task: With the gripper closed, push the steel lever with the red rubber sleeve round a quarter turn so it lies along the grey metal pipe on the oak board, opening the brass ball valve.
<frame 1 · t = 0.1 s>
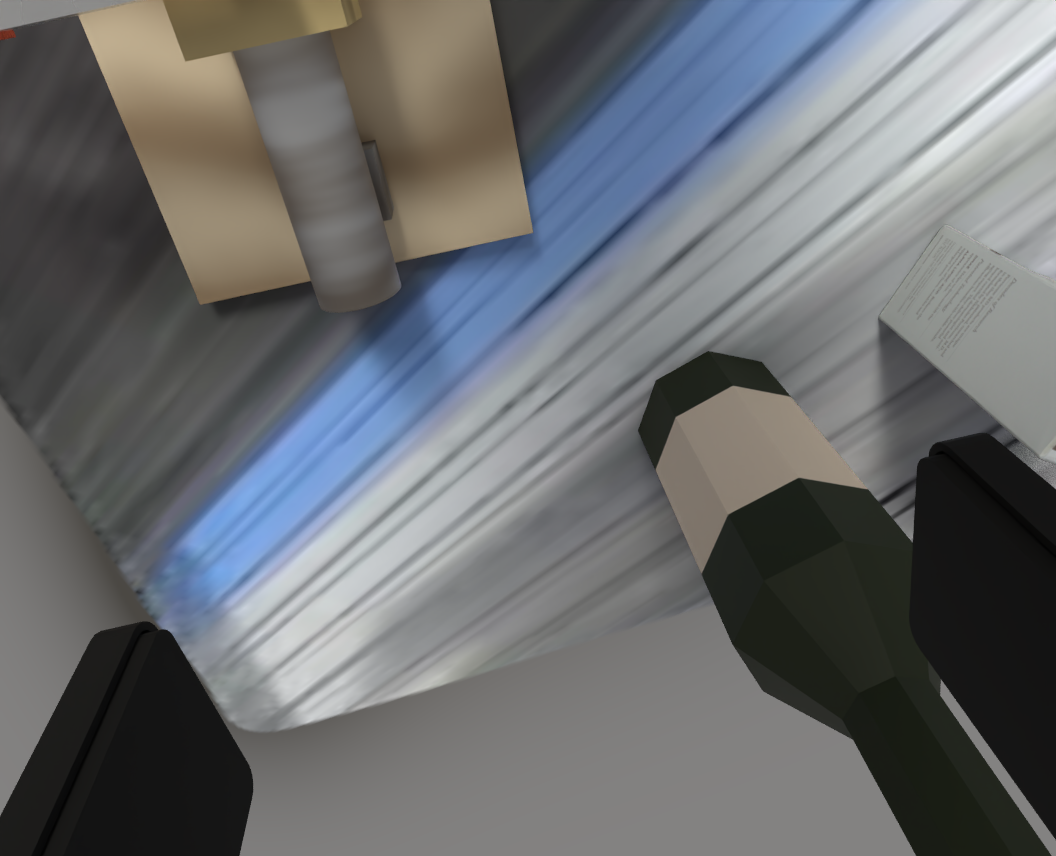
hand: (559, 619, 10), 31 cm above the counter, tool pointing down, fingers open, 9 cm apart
skincare box: (957, 298, 44), on the counter
wine bottle: (709, 415, 46), on the counter
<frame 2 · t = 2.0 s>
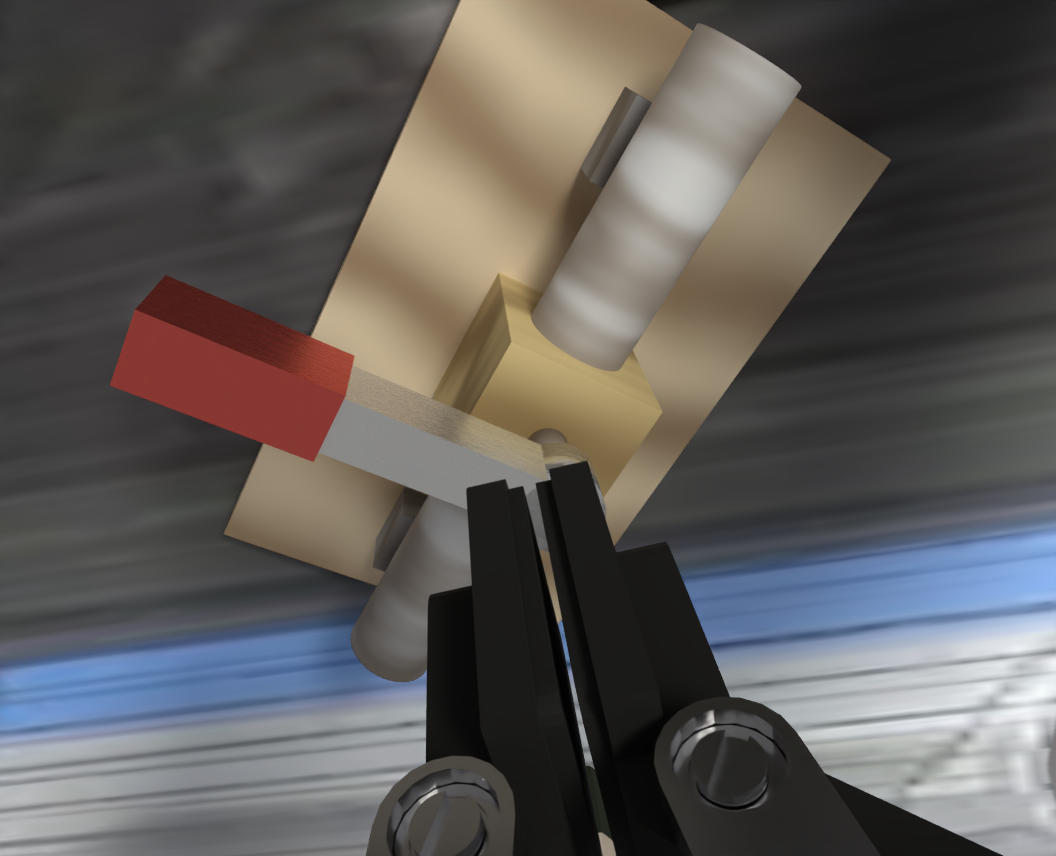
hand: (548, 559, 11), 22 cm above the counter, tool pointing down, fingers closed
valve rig: (525, 347, 33), on the counter
valve lever: (387, 428, 22), point 11 cm above the counter, hinge at 0.0°
wine bottle: (552, 804, 49), on the counter
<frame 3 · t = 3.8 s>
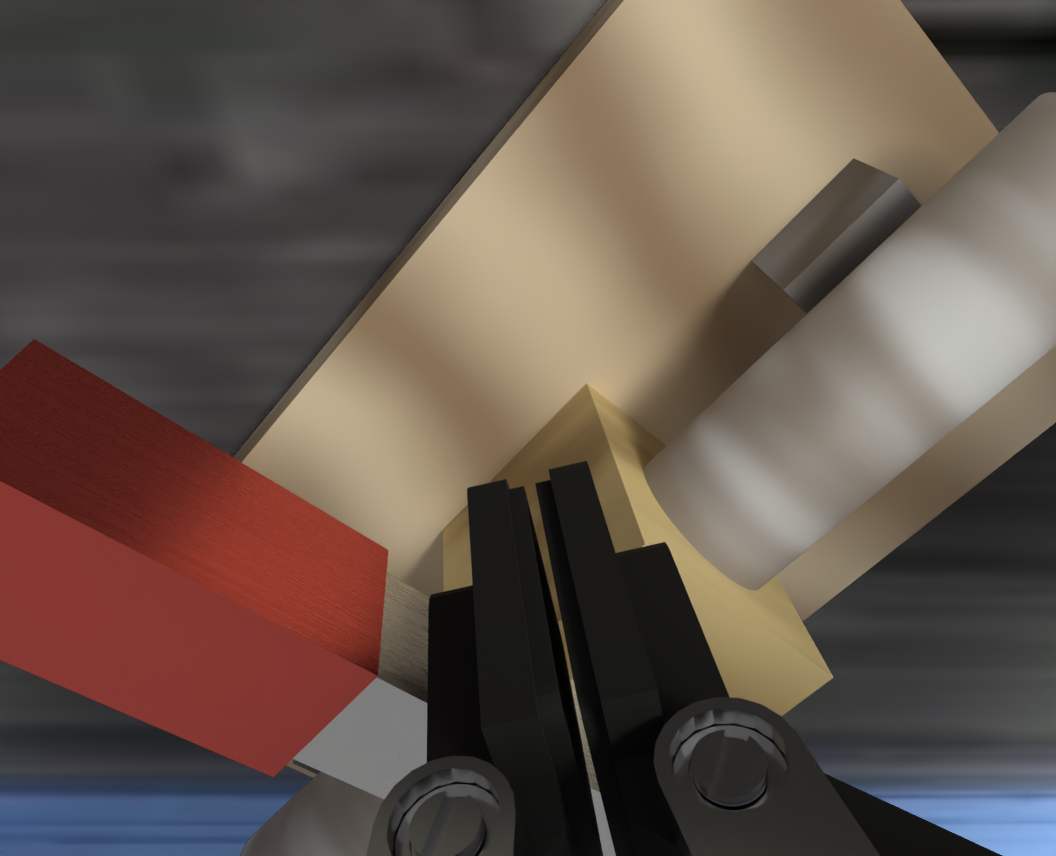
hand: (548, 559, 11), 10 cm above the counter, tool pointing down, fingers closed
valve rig: (581, 483, 23), on the counter
valve lever: (425, 703, 12), point 11 cm above the counter, hinge at 0.0°, touching gripper
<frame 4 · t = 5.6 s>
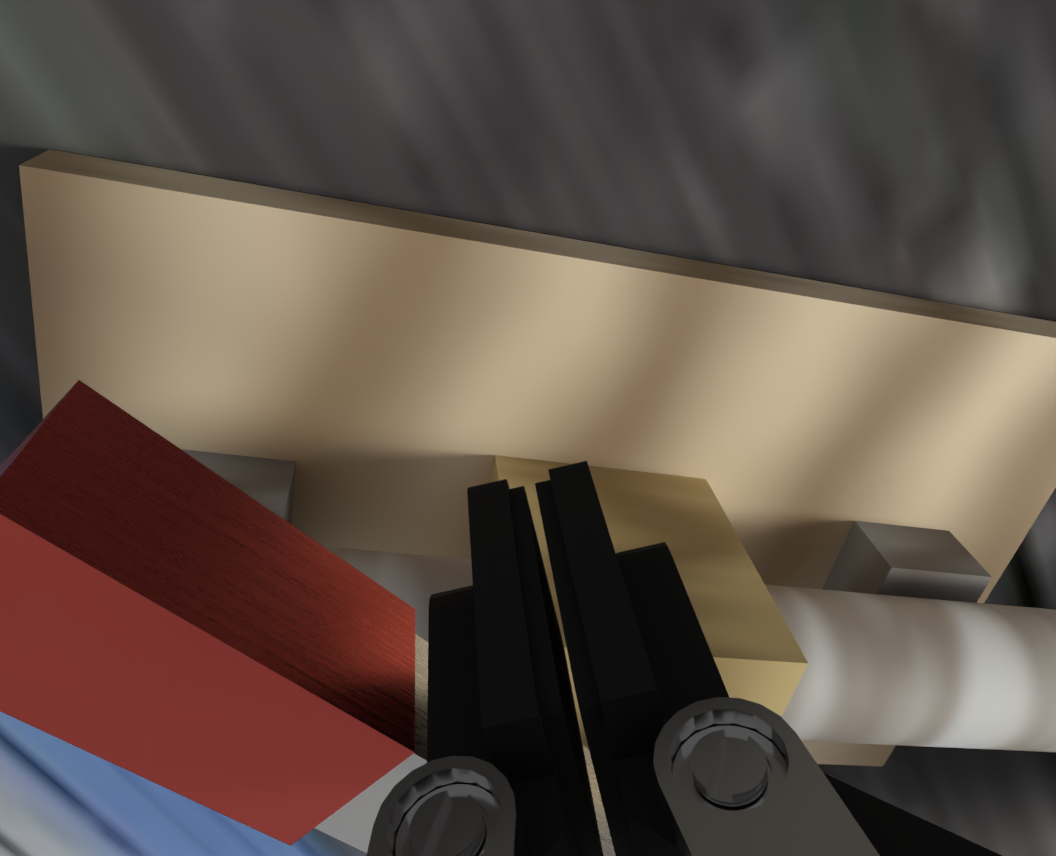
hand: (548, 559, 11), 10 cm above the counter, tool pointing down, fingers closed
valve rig: (568, 520, 23), on the counter
valve lever: (441, 767, 11), point 11 cm above the counter, hinge at 54.2°, touching gripper
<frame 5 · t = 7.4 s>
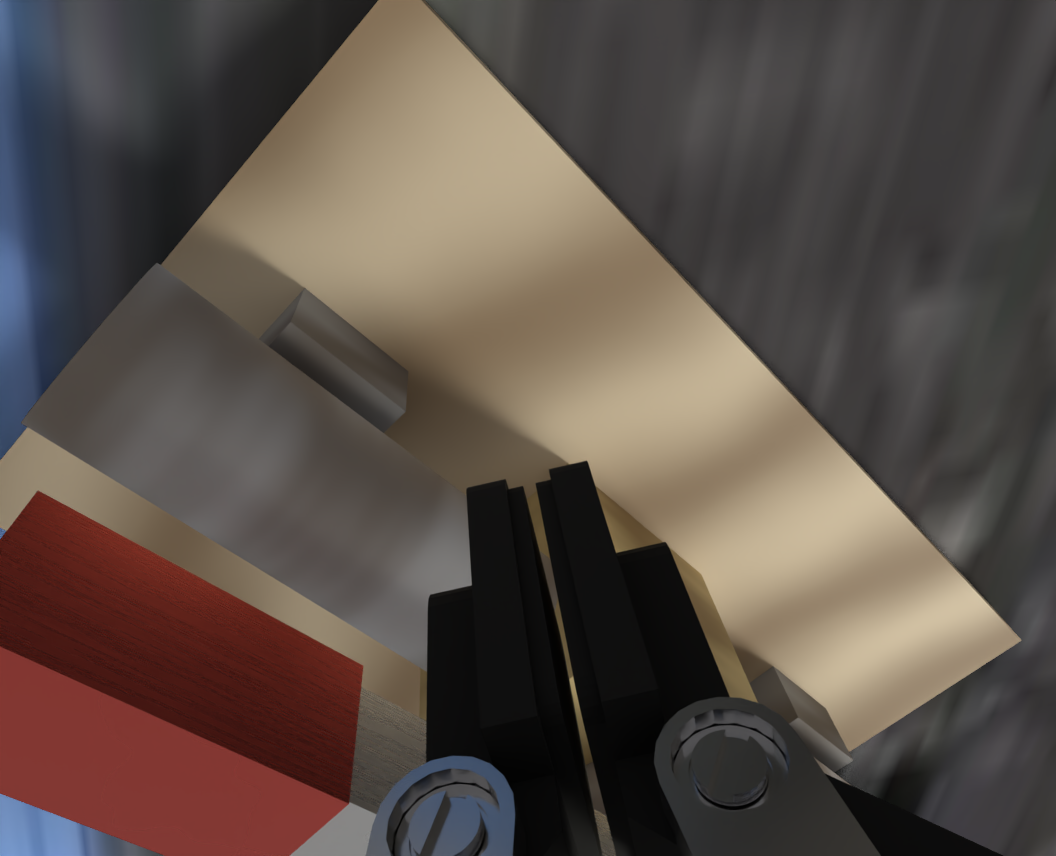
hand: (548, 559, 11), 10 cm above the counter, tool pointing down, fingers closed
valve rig: (556, 549, 24), on the counter
valve lever: (395, 809, 12), point 11 cm above the counter, hinge at 92.6°
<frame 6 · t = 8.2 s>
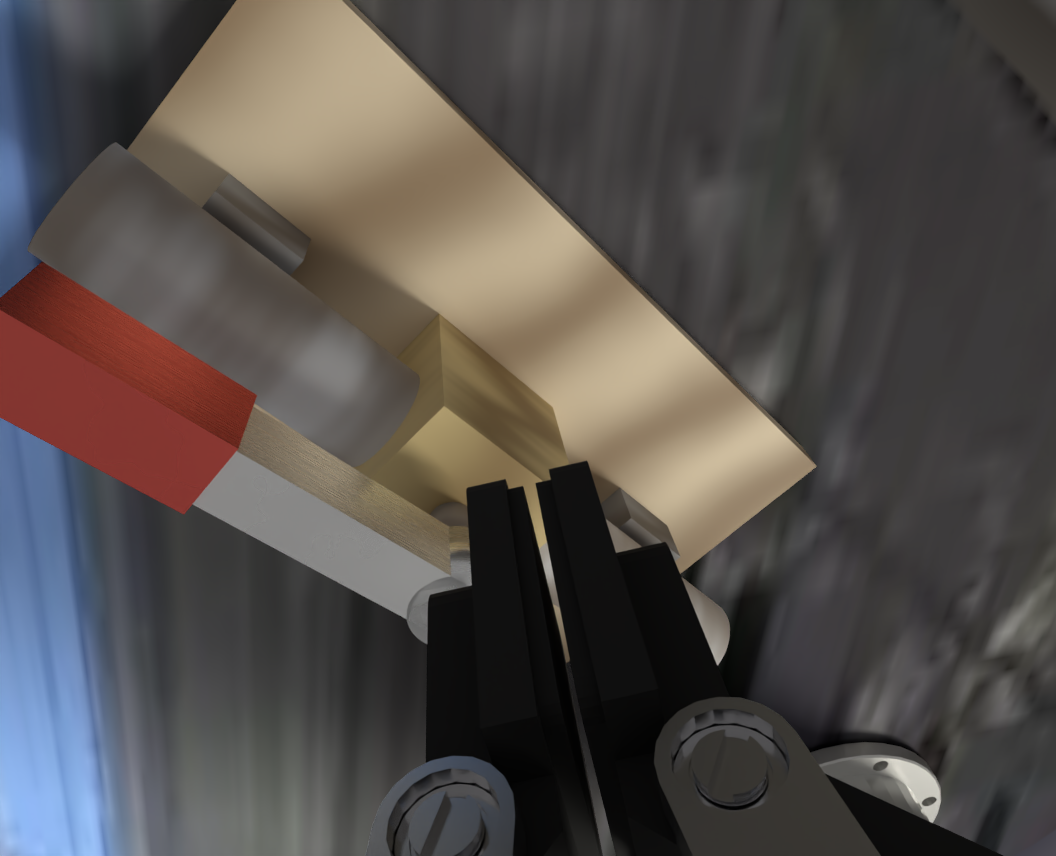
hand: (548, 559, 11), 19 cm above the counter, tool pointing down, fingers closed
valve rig: (444, 394, 31), on the counter
valve lever: (279, 486, 19), point 11 cm above the counter, hinge at 92.6°
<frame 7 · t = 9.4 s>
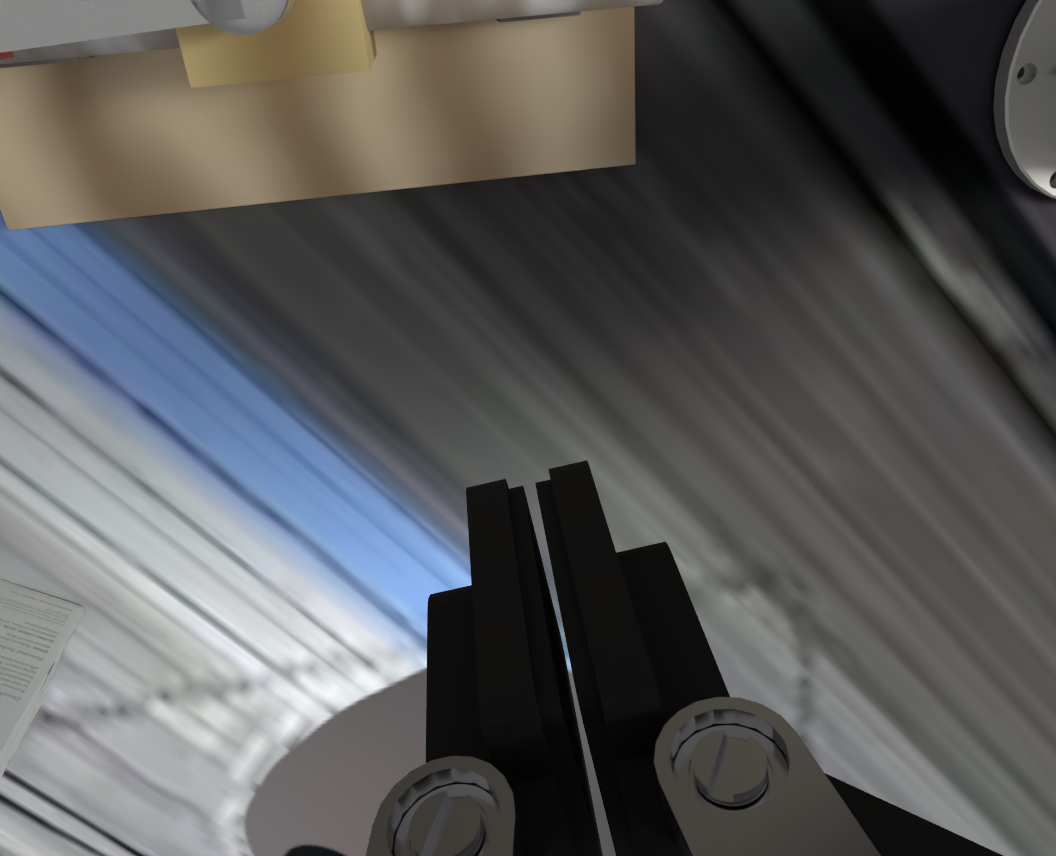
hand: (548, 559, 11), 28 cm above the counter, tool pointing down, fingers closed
skincare box: (10, 632, 45), on the counter
valve lever: (36, 7, 21), point 11 cm above the counter, hinge at 92.6°
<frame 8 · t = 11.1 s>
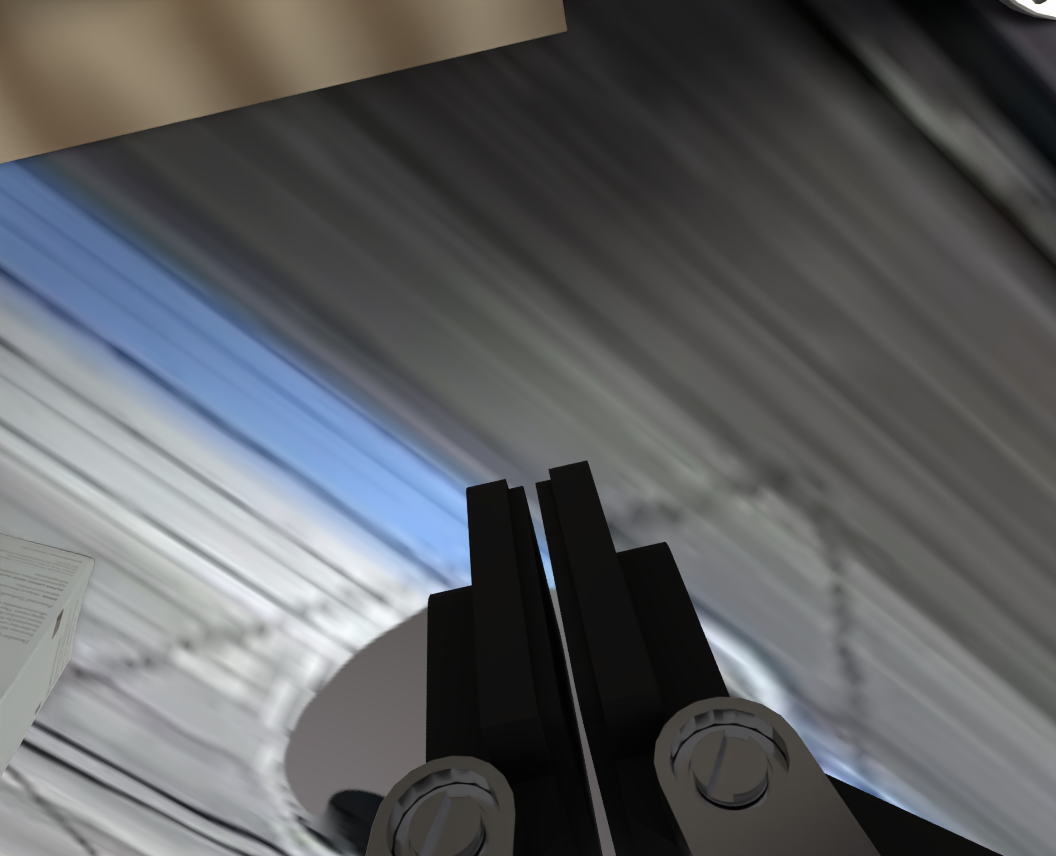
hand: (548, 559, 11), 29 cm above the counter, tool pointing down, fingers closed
skincare box: (30, 589, 46), on the counter
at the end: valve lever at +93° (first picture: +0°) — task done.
